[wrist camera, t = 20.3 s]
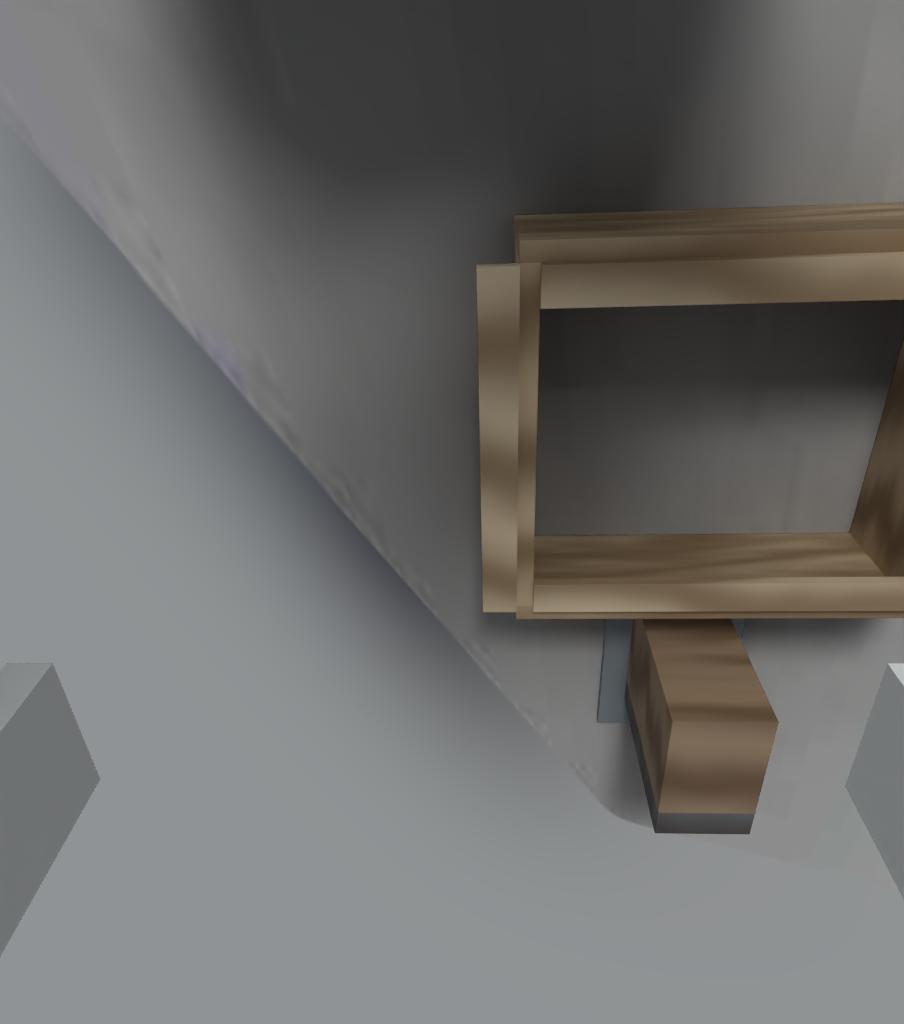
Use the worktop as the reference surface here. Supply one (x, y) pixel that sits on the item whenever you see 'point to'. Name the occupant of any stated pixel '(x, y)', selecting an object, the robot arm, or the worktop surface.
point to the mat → (622, 668)
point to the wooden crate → (666, 282)
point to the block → (697, 725)
